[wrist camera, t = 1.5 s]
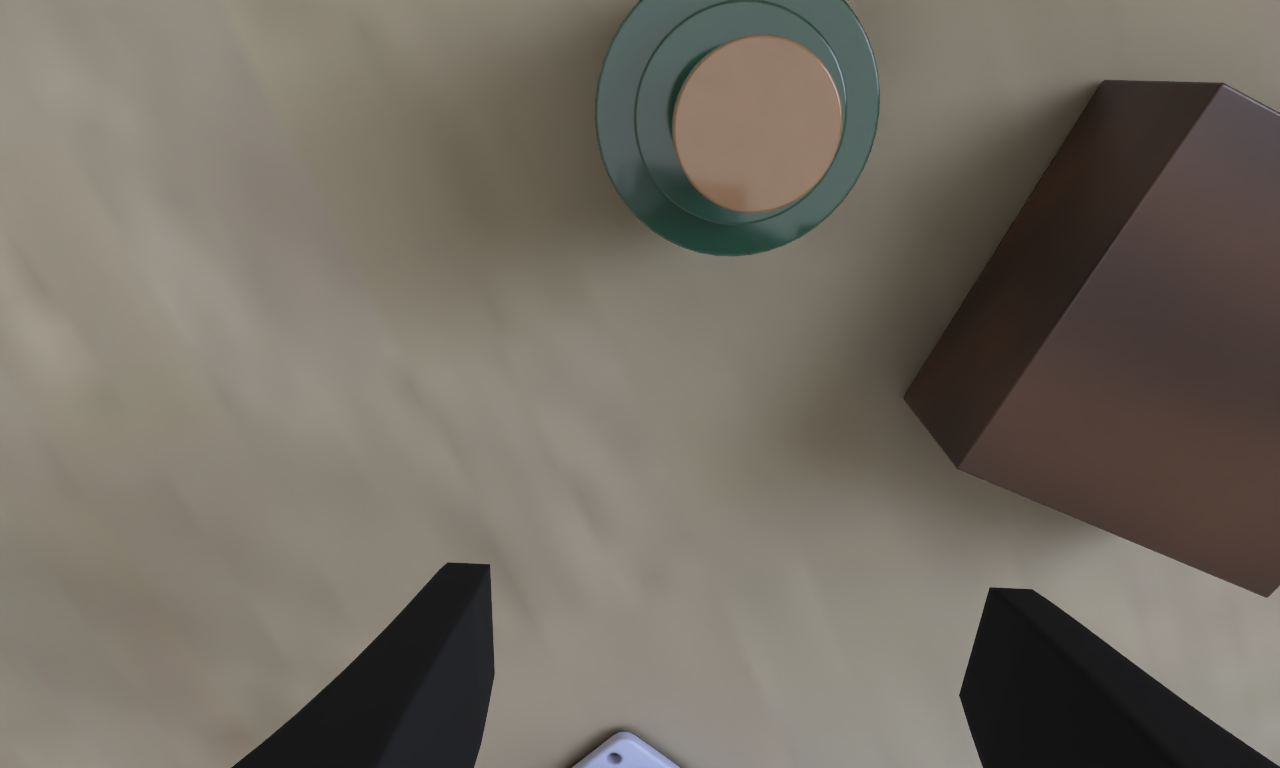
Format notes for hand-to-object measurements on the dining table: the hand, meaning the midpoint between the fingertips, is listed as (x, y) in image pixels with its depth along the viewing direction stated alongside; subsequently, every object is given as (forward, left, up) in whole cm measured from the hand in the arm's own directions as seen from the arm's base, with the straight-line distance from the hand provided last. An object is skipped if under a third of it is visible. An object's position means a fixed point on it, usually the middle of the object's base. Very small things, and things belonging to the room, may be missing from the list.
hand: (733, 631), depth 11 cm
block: (+9, -8, -11) cm, 16 cm away
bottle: (+5, +4, -11) cm, 12 cm away
